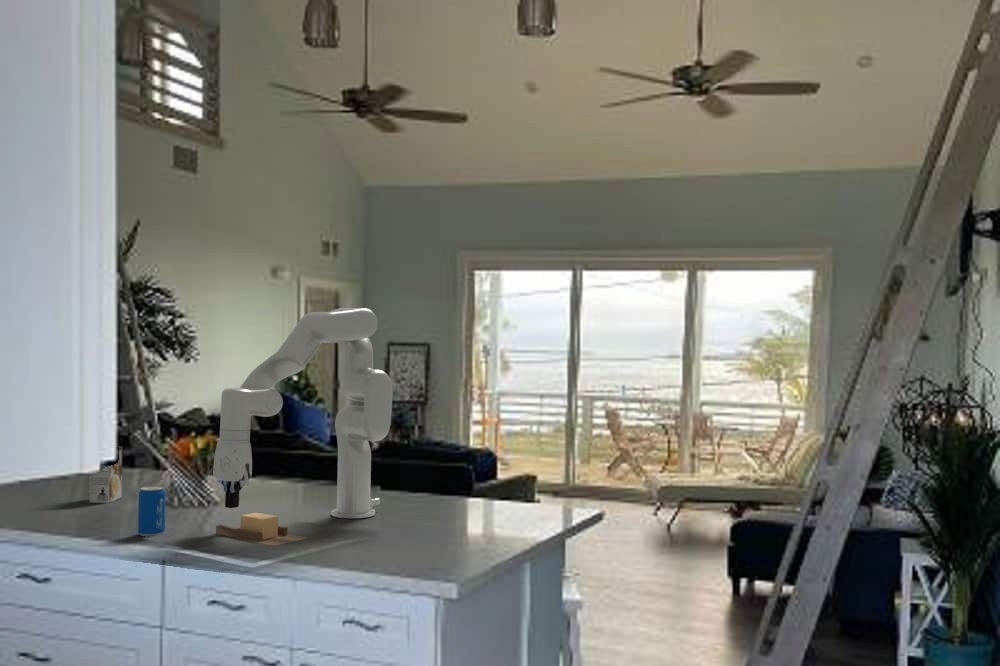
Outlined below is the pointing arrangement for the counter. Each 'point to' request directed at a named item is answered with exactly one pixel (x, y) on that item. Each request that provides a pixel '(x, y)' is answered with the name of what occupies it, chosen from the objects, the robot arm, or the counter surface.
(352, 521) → the counter surface
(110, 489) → the coffee box
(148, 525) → the beverage can
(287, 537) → the brown piece
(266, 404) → the robot arm
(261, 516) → the block
